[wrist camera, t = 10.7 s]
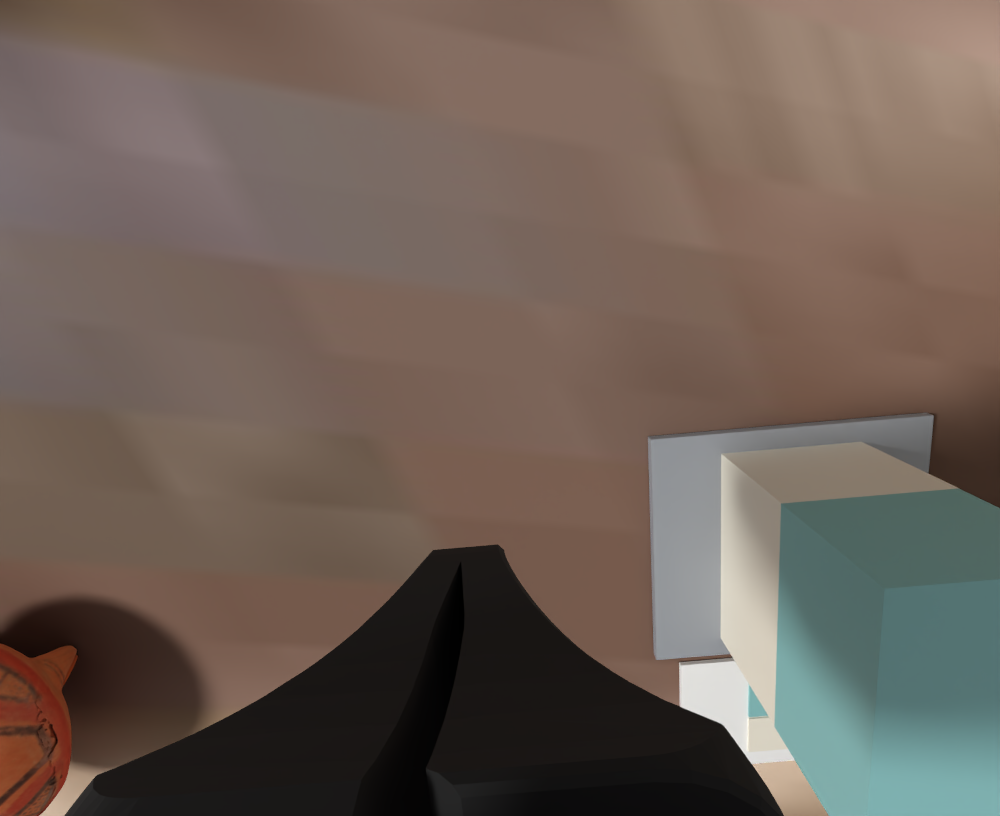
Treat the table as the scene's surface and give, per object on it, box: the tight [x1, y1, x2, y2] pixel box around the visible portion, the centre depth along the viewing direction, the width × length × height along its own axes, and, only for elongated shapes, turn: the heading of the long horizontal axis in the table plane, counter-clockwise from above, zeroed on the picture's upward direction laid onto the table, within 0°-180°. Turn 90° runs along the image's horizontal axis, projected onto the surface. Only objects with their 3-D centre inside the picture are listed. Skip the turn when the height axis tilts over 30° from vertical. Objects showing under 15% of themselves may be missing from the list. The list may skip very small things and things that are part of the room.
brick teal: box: [774, 488, 1000, 816], centre depth 15 cm, size 8×5×4 cm, turn 5°
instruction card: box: [679, 658, 795, 764], centre depth 24 cm, size 5×8×1 cm, turn 95°
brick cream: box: [721, 442, 958, 724], centre depth 20 cm, size 8×5×4 cm, turn 5°
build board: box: [648, 413, 934, 660], centre depth 22 cm, size 9×10×1 cm
